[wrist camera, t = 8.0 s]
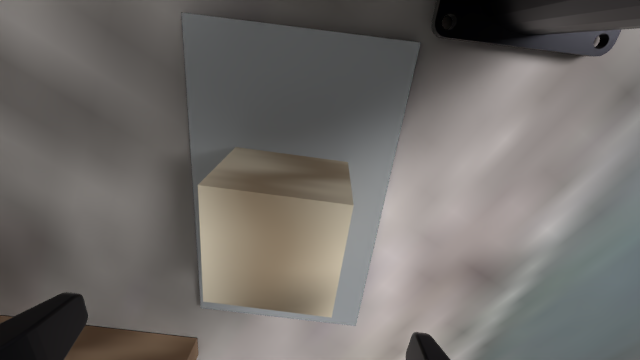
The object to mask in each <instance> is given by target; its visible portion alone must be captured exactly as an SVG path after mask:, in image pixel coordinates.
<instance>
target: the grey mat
mask: <svg viewBox="0 0 640 360" xmlns="http://www.w3.org/2000/svg"><path fill="white" fill-rule="evenodd" d="M181 14H182V30H183V45H184V60H185V75H186V90H187V105H188V120H189V136H190V151H191V166H192V181H193V196H194V211H195V226H196V242H197V257H198V272H199V287H200V302H201V308H206V309H214V310H223V311H231V312H240V313H248V314H257V315H265V316H274V317H283V318H291V319H300V320H308V321H317V322H325V323H334V324H342V325H351V326H356V323H357V318H358V314H359V309H360V305H361V301H362V296H363V292H364V288H365V283H366V279H367V275H368V270H369V266H370V262H371V257H372V253H373V248H374V244H375V240H376V235H377V231H378V227H379V222H380V218H381V214H382V209H383V205H384V201H385V196H386V192H387V187H388V183H389V179H390V174H391V170H392V166H393V161H394V157H395V153H396V148H397V144H398V140H399V135H400V131H401V126H402V122H403V118H404V113H405V109H406V105H407V100H408V96H409V92H410V87H411V83H412V79H413V74H414V70H415V65H416V61H417V57H418V52H419V48H420V44H421V43H420V42H412V41H404V40H396V39H388V38H381V37H373V36H365V35H357V34H349V33H341V32H333V31H325V30H317V29H309V28H301V27H293V26H285V25H277V24H270V23H262V22H254V21H246V20H238V19H230V18H222V17H214V16H206V15H198V14H190V13H182V12H181ZM235 147H239V148H246V149H254V150H261V151H269V152H277V153H284V154H292V155H299V156H307V157H314V158H322V159H329V160H337V161H344V162H348V166H349V174H350V181H351V189H352V197H353V204H354V206H353V211H352V216H351V222H350V227H349V232H348V237H347V242H346V247H345V252H344V257H343V262H342V267H341V272H340V278H339V283H338V288H337V293H336V298H335V303H334V308H333V313H332V318H330V317H322V316H314V315H306V314H298V313H290V312H282V311H274V310H266V309H259V308H251V307H243V306H235V305H227V304H219V303H211V302H203V287H202V265H201V243H200V222H199V200H198V184H199V183H200V182H201V181H202V180H203V179H204V178H205V177H206V176H207V175H208V174H209V173H210V172H211V171H212V170H213V169H214V168H215V167H216V166H217V165H218V164H219V163H220V162H221V161H222V160H223V159H224V158H225V157H226V156H227V155H228V154H229V153H230V152H231V151H232V150H233V149H234V148H235Z"/></svg>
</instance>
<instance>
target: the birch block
mask: <svg viewBox="0 0 640 360" xmlns="http://www.w3.org/2000/svg"><path fill="white" fill-rule="evenodd" d="M198 200H199V222H200V243H201V265H202V287H203V302H211V303H219V304H227V305H235V306H243V307H251V308H259V309H266V310H274V311H282V312H290V313H298V314H306V315H314V316H322V317H330V318H332V313H333V308H334V303H335V298H336V293H337V288H338V283H339V278H340V272H341V267H342V262H343V257H344V252H345V247H346V242H347V237H348V232H349V227H350V222H351V216H352V211H353V206H354V204H353V197H352V189H351V181H350V174H349V166H348V162H344V161H337V160H329V159H322V158H314V157H307V156H299V155H292V154H284V153H277V152H269V151H261V150H254V149H246V148H239V147H235V148H234V149H233V150H232V151H231V152H230V153H229V154H228V155H227V156H226V157H225V158H224V159H223V160H222V161H221V162H220V163H219V164H218V165H217V166H216V167H215V168H214V169H213V170H212V171H211V172H210V173H209V174H208V175H207V176H206V177H205V178H204V179H203V180H202V181H201V182H200V183H199V184H198Z"/></svg>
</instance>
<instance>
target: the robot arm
mask: <svg viewBox="0 0 640 360" xmlns="http://www.w3.org/2000/svg"><path fill="white" fill-rule="evenodd" d="M446 15H449V16H451V18H452V25H451V27H450V28H449V29H448V30H446V29H444V28H443V26H442V20H443V18H444V17H445V16H446ZM634 28H640V0H437V2H436V6H435V10H434V14H433V19H432V30H433V33H434V34H435V35H436V36H438V37H441V38H447V39H455V40H463V41H471V42H478V43H486V44H494V45H502V46H510V47H518V48H526V49H534V50H542V51H550V52H558V53H566V54H573V55H581V56H601V55H603V54H605V53H607V52H608V51H609V50H610V49H611V48H612V47H613V45H614V44H615V42H616V40H617V38H618V36H619V34H620V32H621V29H634ZM598 35H599V37H600V42H599V44H598V45H597V46H596V47H594V45H593V44H594V40H595V39H596V37H597V36H598ZM87 320H88V313H87V310H86V306H85V302H84V299H83V296H82V295H81V294H77V293H67V292H66V293H62V294H59V295H57V296H55V297H53V298H51V299H49V300H47V301H45V302H43V303H41V304H39V305H37V306H35V307H33V308H31V309H29V310H27V311H24V312H22V313H20V314H18V315H16V316H14V317H12V318H10V319H8V320H6V321H4V322H2V323H0V360H64V359H65V357H66V356H67V354H68V353H69V351H70V349H71V348H72V346H73V345H74V343H75V341H76V340H77V338H78V337H79V335H80V333H81V332H82V330H83V328H84V327H85V325H86V323H87ZM406 360H450V359H449V357H448V356H447V355H446V354H445V352H444V351H443V350H442V349H441V348H440V346H439V345H438V344H437V343H436V342H435V340H434V339H433V338H432V337H431V336H430V335H429V334H426V333H418V332H415V333H413V334H412V337H411V340H410V343H409V346H408V348H407V352H406Z"/></svg>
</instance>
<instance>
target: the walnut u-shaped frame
mask: <svg viewBox="0 0 640 360" xmlns="http://www.w3.org/2000/svg"><path fill="white" fill-rule="evenodd" d="M10 318H12V317H9V316H0V323H2V322H4V321H6V320H8V319H10ZM197 356H198V342H197V338H190V337H182V336H173V335H164V334H156V333H147V332H138V331H130V330H121V329H112V328H104V327H95V326H87V325H85V327H84V328H83V330H82V332H81V333H80V335H79V337H78V338H77V340H76V341H75V343H74V345H73V346H72V348H71V349H70V351H69V353H68V354H67V356H66V357H65V359H64V360H196V359H197Z"/></svg>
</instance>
